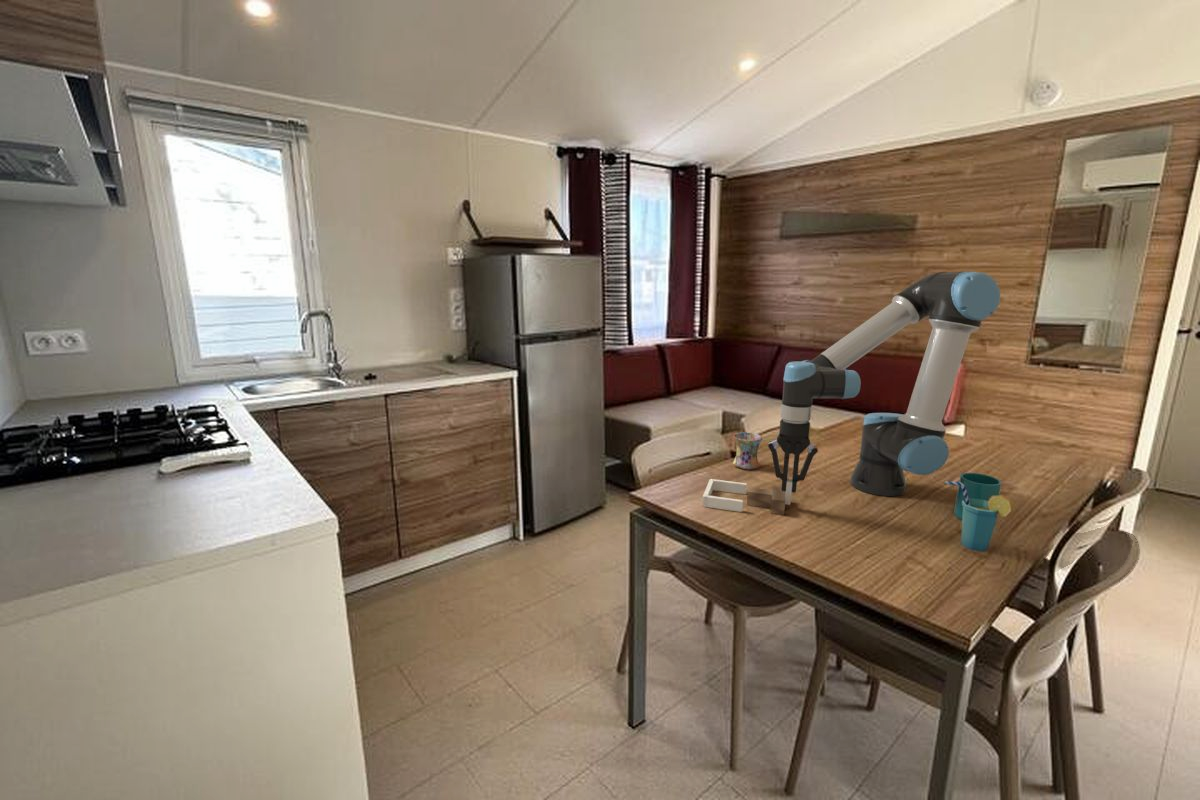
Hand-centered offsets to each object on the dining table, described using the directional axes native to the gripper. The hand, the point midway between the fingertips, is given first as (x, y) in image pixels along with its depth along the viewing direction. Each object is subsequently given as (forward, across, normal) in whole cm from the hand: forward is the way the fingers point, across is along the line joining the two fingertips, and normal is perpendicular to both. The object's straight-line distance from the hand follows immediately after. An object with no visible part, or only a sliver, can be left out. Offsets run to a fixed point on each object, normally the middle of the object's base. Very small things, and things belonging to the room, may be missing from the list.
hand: (787, 502), depth 150 cm
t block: (+2, +6, 0) cm, 6 cm away
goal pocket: (+2, +16, 0) cm, 17 cm away
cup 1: (+2, -48, -12) cm, 49 cm away
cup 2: (+2, -42, +7) cm, 42 cm away
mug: (+2, +14, -32) cm, 35 cm away
